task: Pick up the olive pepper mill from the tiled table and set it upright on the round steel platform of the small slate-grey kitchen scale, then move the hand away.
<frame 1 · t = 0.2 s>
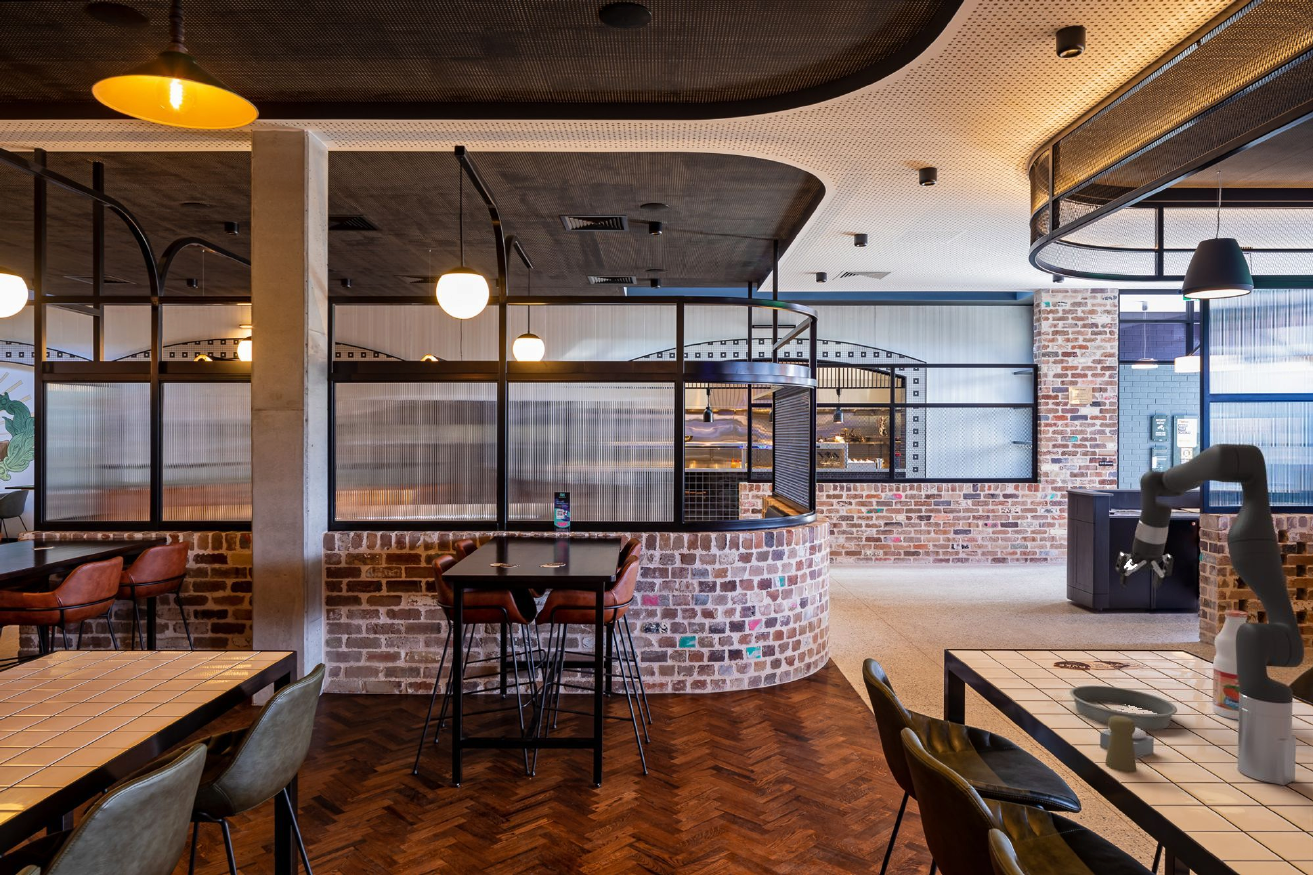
hand: (1139, 585, 225), 31 cm above the table, tool tilted 20°, fingers open, 8 cm apart
olive pepper mill: (1120, 767, 171), on the table
cake pan: (1121, 716, 205), on the table
fruit juice: (1233, 715, 207), on the table
scale: (1126, 749, 181), on the table
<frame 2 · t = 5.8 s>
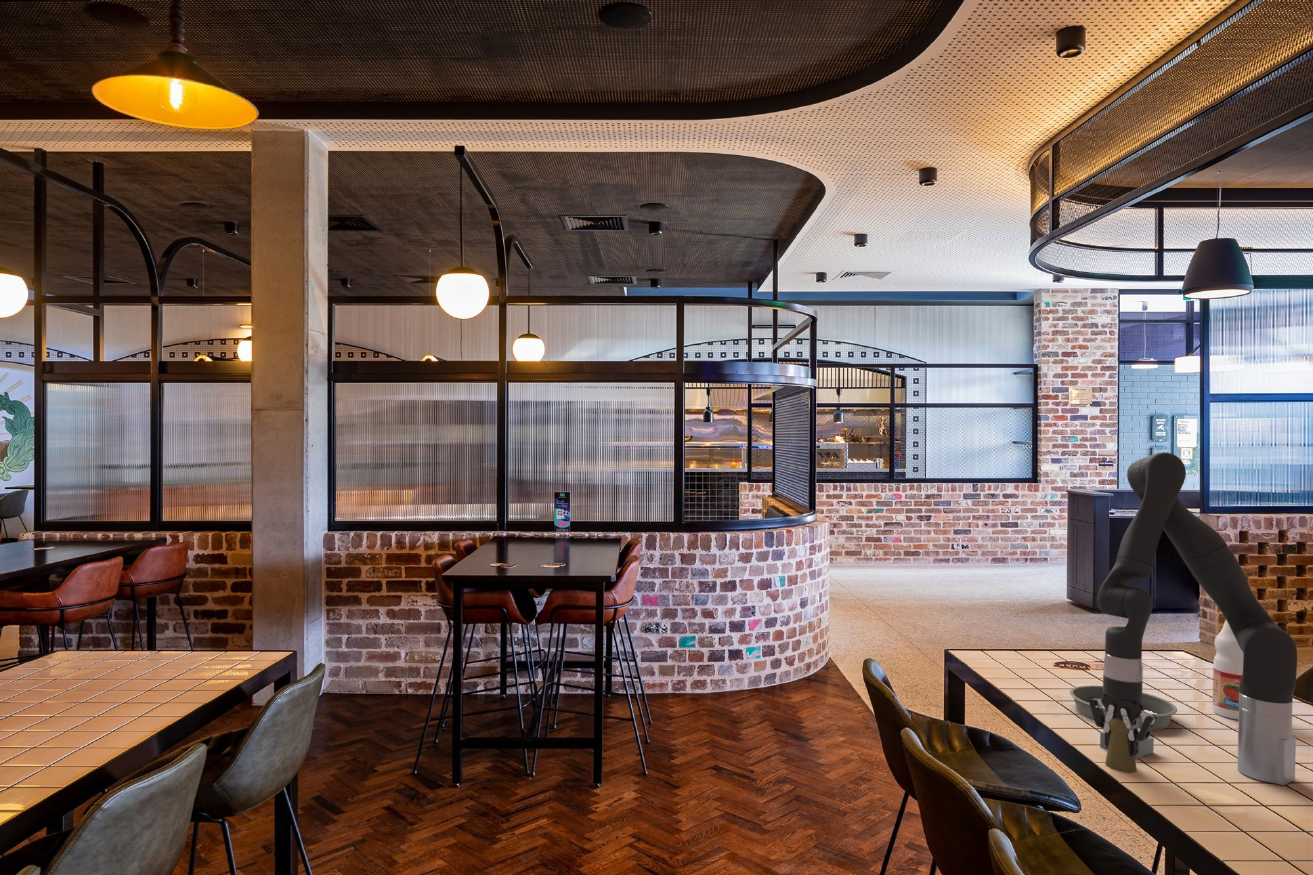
hand: (1121, 752, 171), 3 cm above the table, tool pointing down, fingers closed on olive pepper mill, 4 cm apart
olive pepper mill: (1120, 767, 171), on the table, touching gripper
everything else where it was.
when the fingers open (9 cm above the table, at t = 10.7 s): olive pepper mill drops 1 cm, resting on scale.
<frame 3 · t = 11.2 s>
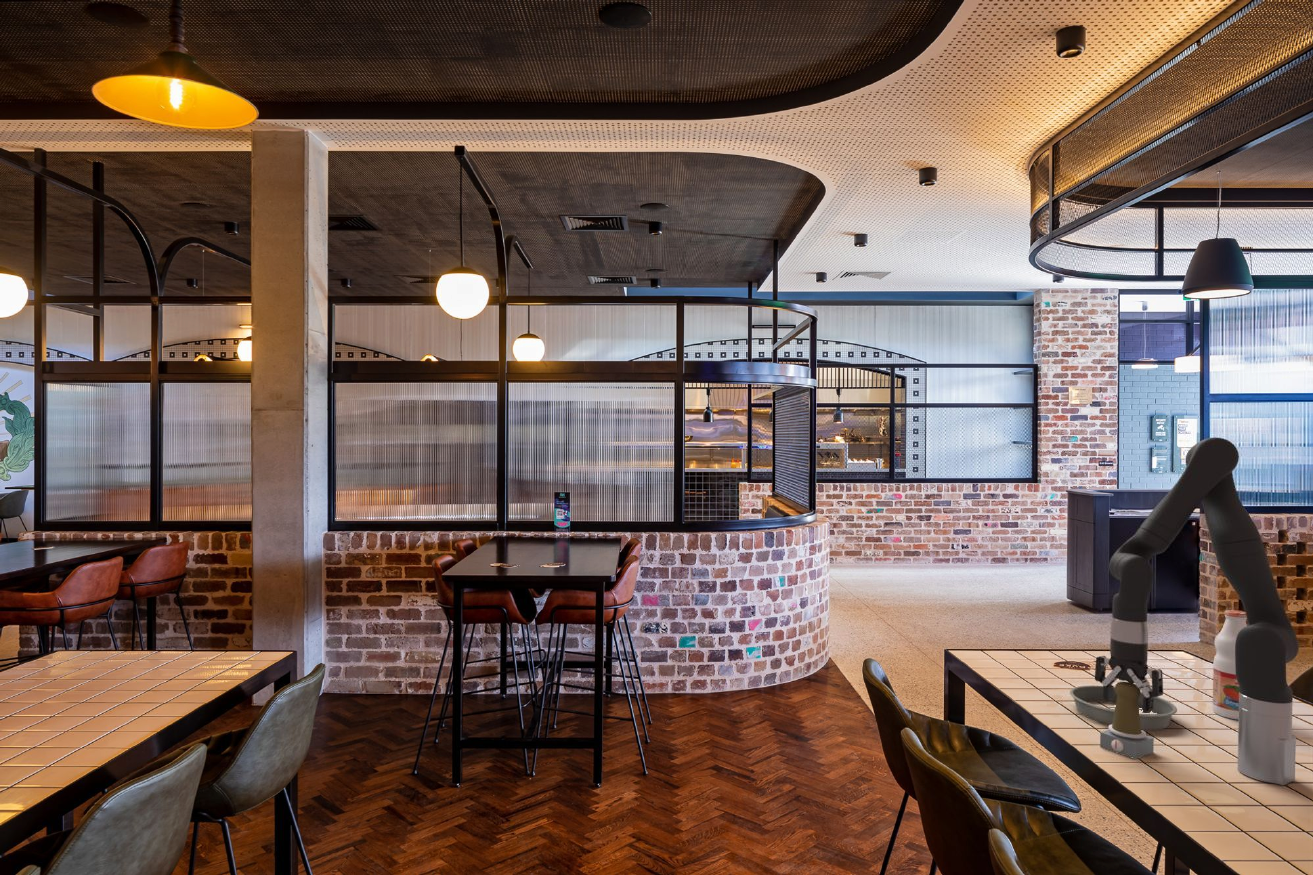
hand: (1127, 706, 181), 10 cm above the table, tool pointing down, fingers open, 8 cm apart
olive pepper mill: (1126, 730, 181), point 5 cm above the table, touching scale
everything else where it was.
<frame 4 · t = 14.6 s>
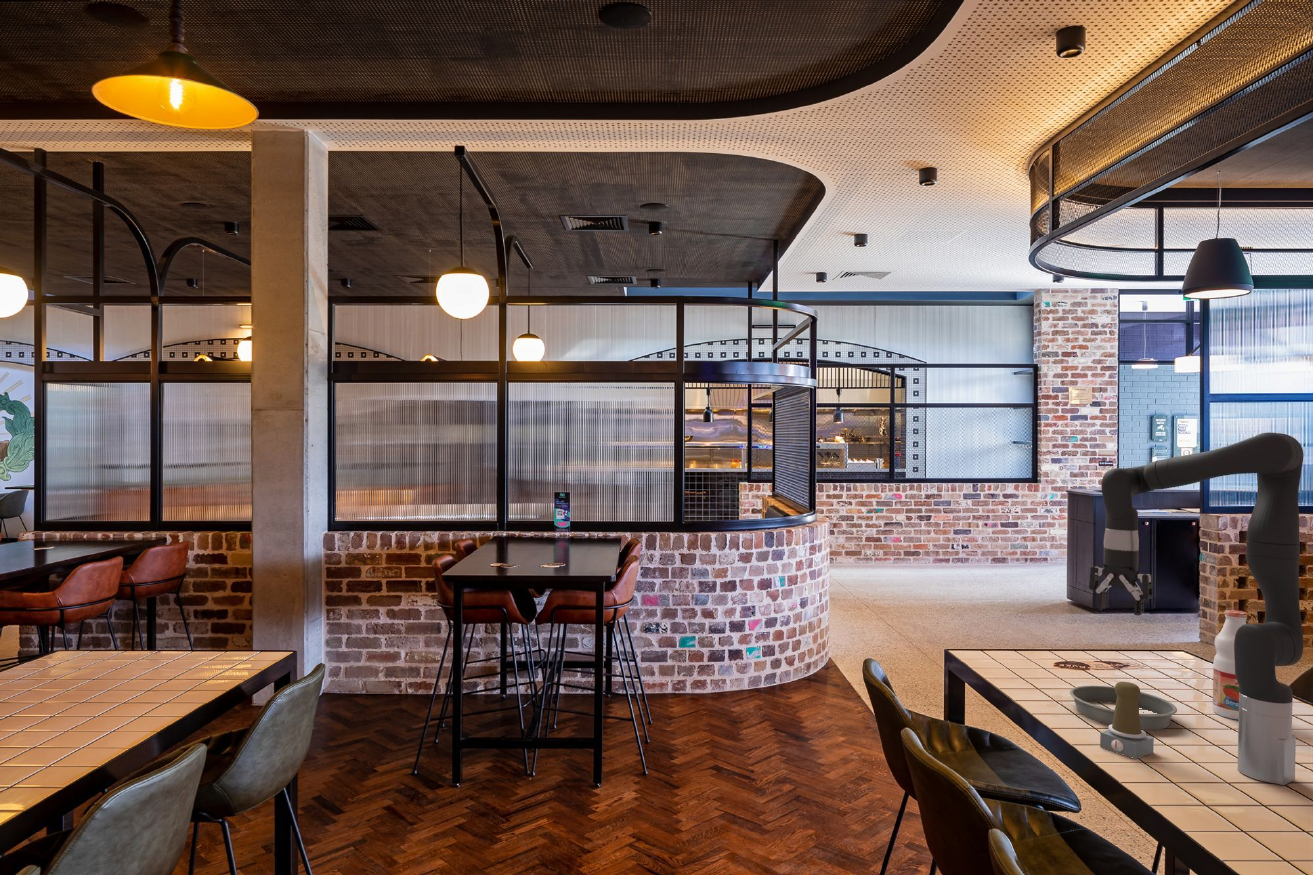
hand: (1119, 611, 193), 30 cm above the table, tool pointing down, fingers open, 8 cm apart
nothing on the table moved.
at the end: olive pepper mill 0.1 cm off-centre on the scale, point 4.5 cm above the scale's base; olive pepper mill tilted 0°; the gripper is holding nothing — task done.
